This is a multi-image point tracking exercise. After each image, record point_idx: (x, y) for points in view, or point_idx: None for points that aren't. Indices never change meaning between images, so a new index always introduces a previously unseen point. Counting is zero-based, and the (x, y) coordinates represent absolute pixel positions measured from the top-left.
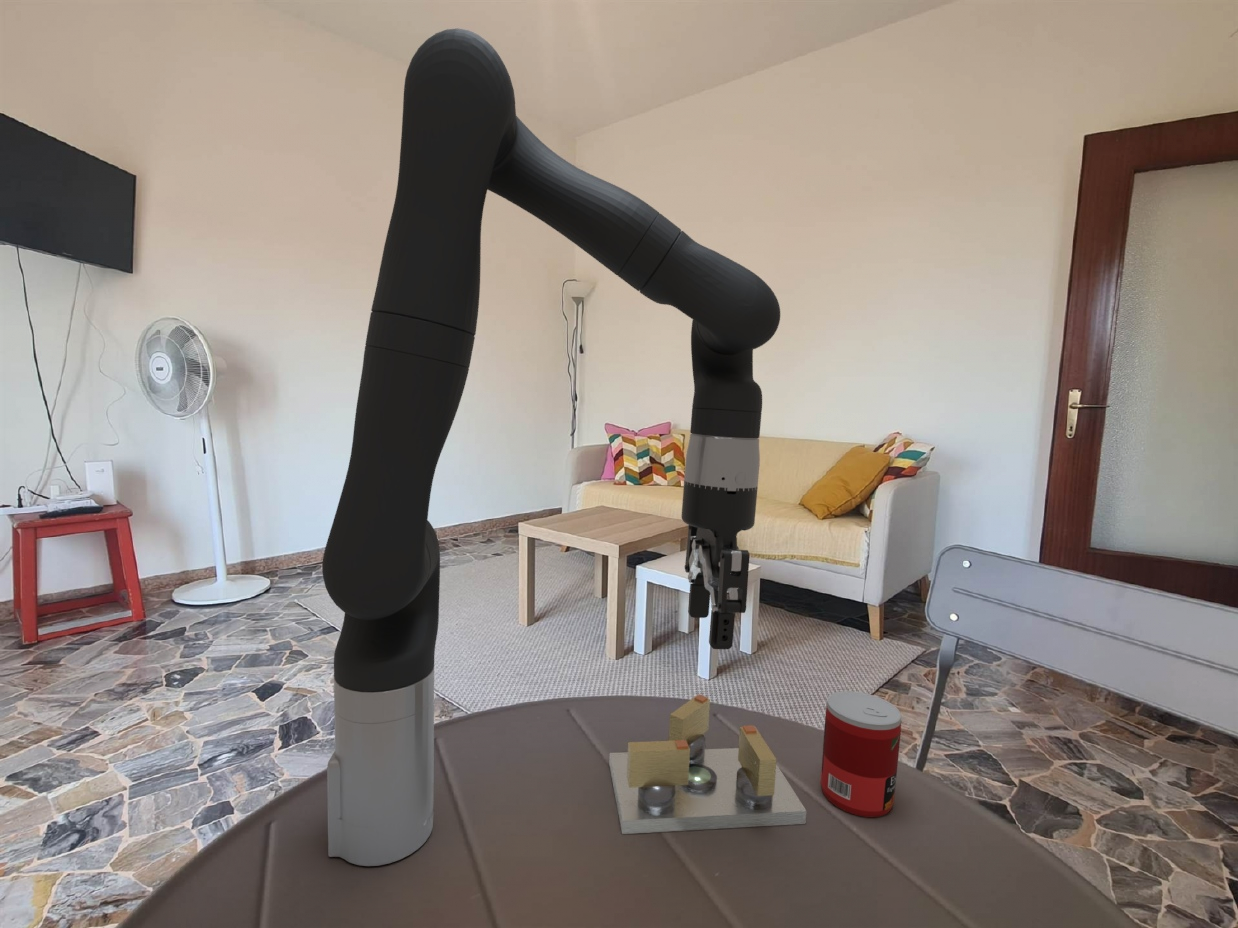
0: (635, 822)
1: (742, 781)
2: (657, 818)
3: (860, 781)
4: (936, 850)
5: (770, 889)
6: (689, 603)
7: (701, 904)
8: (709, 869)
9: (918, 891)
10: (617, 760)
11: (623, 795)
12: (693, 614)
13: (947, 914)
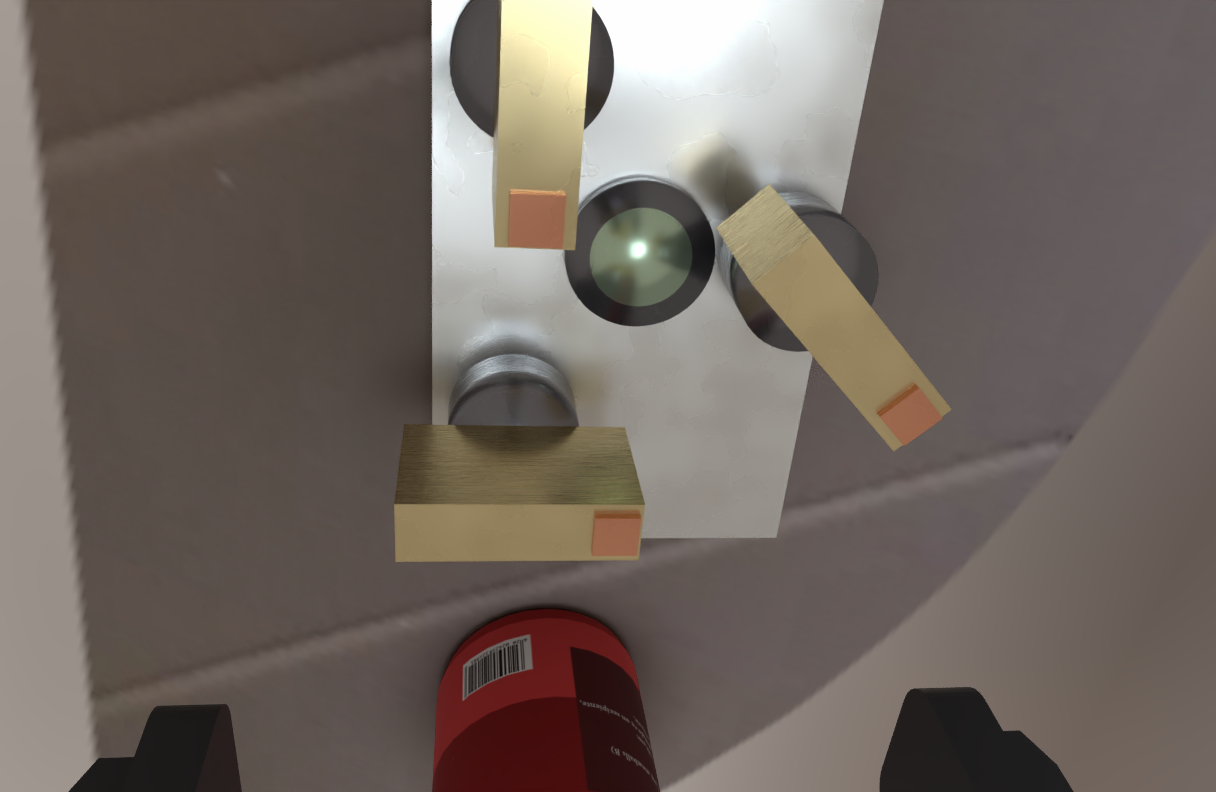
0: None
1: (491, 400)
2: (433, 29)
3: (446, 733)
4: (312, 758)
5: (162, 319)
6: (999, 772)
7: (87, 85)
8: (244, 160)
9: (171, 663)
10: None
11: None
12: (915, 720)
13: (99, 686)
